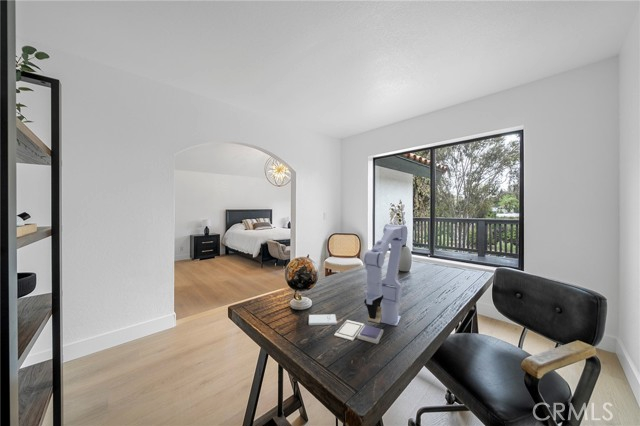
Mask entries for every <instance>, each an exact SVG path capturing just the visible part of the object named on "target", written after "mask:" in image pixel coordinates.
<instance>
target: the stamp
mask: <svg viewBox="0 0 640 426" xmlns="http://www.w3.org/2000/svg"><path fill="white" fill-rule="evenodd" d="M381 320H382V307H381V306H380V307H379V306H378V307H377V312H376V318H375V319H371V318H370V317H369V313H368V312H367V322H368V323H373V324H377V325H380V323H381Z"/></svg>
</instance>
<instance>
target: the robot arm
mask: <svg viewBox="0 0 640 426" xmlns="http://www.w3.org/2000/svg"><path fill="white" fill-rule="evenodd" d="M382 229H383V230H382V231H383V235H382V237H381V239H380V240H377V241H376V242H375V244H374V245H373V247H372V248H371V250H370V251H367V252H365V254H364V256H363V257H364V258H363V264H364V265H365V270H366V290H364V291H363V294H365V295H366V298H365V299H364V300H363V302H364V305H365V306H366V308H367V314H368V313H369V317H370V318H371V319H375V318H376V312H377V307H378V306H379V307H382V320H381V322H380V323H381V324H386V325H391V326H395V327H397V326H398V324H399V322H400V319H401V315H399V303H400V302H401V301H402V298H403V286H402V284H401V283H400V281H398V273H399V266H400V262H401V255H402V249H403V246H404V245H406V244H407V238H408V234H409V233H408V227H407V225H406V224H390V223H389V224H388V223H386V224H384V225H383V228H382ZM389 250H390V251H389ZM388 251H389V256H388V264H387V268H386V274H385V275H386V276H385V278H383V277H382V275H383V274H382V270H383V269H382V267H383V266H384V263H385V259H386V255H387V253H388ZM382 278H383V279H382Z"/></svg>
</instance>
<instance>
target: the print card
mask: <svg viewBox="0 0 640 426" xmlns="http://www.w3.org/2000/svg"><path fill="white" fill-rule="evenodd" d="M364 325H365V323H362V322H358V321H354V320H349V319H346V321H344V323H343V324H341V326H340V327H339V328H338V329H337V330H336V331H335V333H334V334H333V336H334V337H338V338H341V339H345V340H347V341H348V340H349V341H352V342H354V340H355V338H356V337H357V335H358V334H359V332H360V331H361V329H362V328H363V327H364Z"/></svg>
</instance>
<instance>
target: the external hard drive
mask: <svg viewBox="0 0 640 426" xmlns="http://www.w3.org/2000/svg"><path fill="white" fill-rule="evenodd" d="M332 325H333V326H334V325H338V321H337V316H336V314H332V313H331V314H308V326H332Z"/></svg>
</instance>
